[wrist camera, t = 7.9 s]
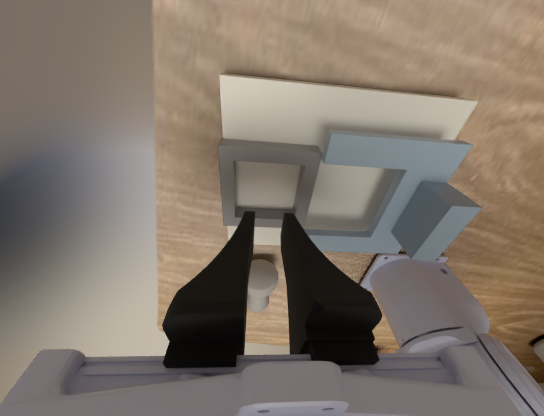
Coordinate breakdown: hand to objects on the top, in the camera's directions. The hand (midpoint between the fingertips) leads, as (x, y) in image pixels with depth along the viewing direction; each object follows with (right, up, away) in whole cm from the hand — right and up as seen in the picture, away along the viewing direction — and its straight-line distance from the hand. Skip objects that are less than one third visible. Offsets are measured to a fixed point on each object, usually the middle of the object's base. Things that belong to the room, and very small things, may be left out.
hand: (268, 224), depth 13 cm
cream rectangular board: (+5, +4, +6) cm, 8 cm away
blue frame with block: (+8, +2, +3) cm, 9 cm away
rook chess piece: (-1, -6, +10) cm, 12 cm away
